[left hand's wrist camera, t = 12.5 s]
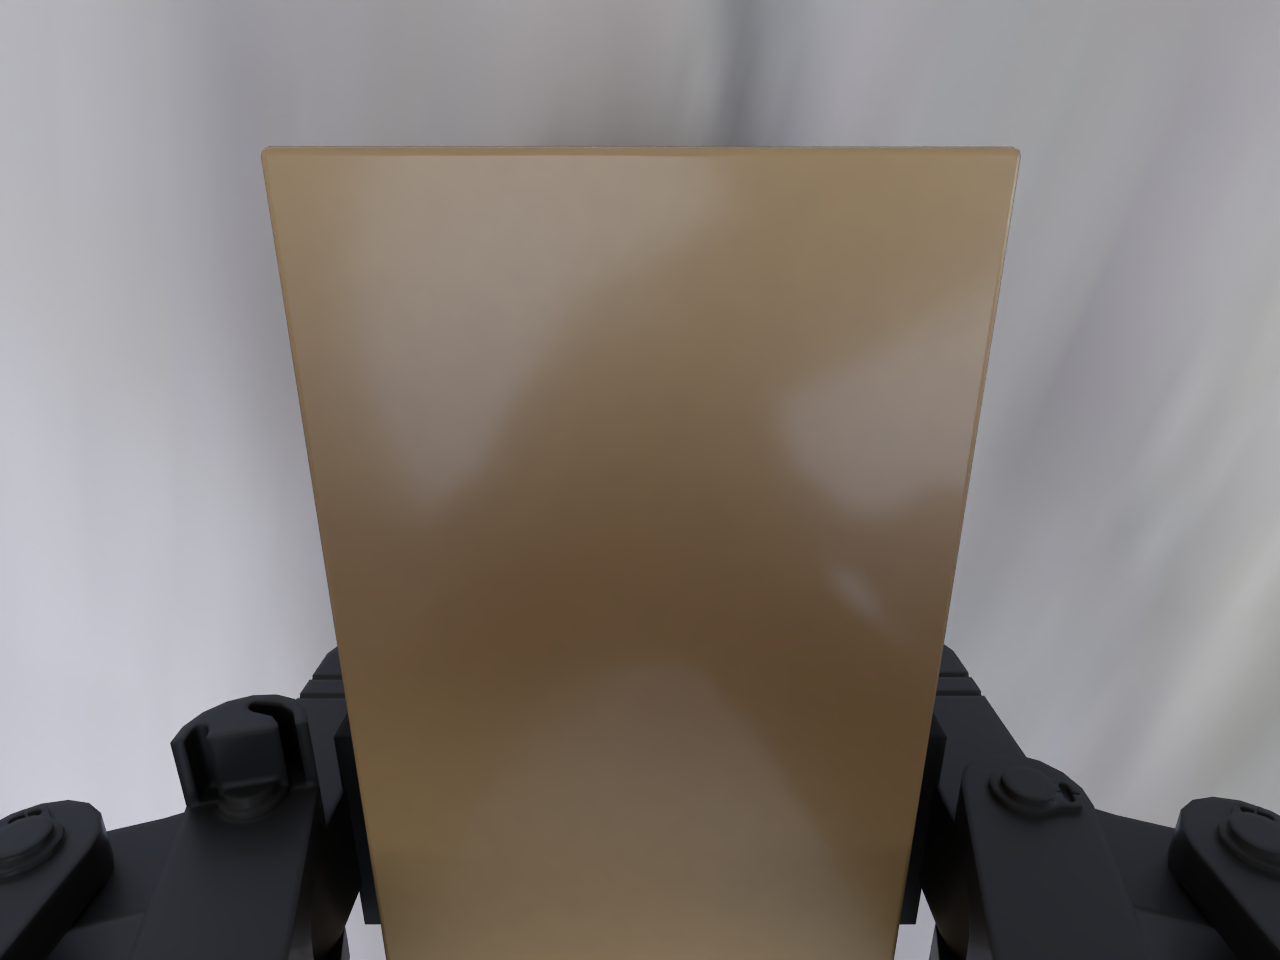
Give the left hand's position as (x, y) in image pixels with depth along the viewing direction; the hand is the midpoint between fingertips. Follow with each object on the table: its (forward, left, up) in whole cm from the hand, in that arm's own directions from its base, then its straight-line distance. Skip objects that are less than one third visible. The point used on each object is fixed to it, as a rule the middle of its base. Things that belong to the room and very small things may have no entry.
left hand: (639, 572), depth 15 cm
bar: (+3, +24, -1) cm, 24 cm away
